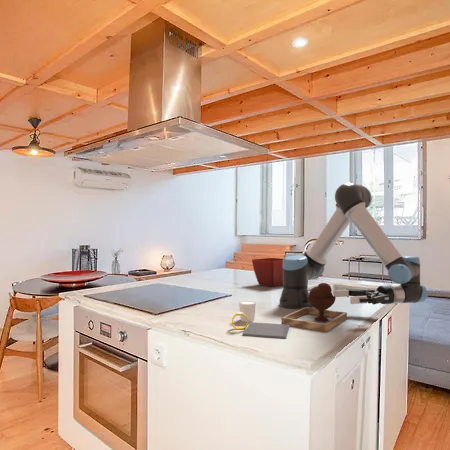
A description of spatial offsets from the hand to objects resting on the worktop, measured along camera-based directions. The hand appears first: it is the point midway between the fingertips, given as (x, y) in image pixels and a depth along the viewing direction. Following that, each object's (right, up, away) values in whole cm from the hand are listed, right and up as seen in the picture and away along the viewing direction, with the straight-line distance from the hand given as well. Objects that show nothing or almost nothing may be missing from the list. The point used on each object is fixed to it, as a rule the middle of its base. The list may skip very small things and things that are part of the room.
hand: (341, 296), depth 139 cm
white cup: (-38, -10, 0) cm, 39 cm away
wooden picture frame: (-12, -9, -3) cm, 15 cm away
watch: (-42, -9, -12) cm, 44 cm away
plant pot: (-16, -10, +86) cm, 88 cm away
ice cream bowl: (-9, -9, -1) cm, 13 cm away
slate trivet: (-32, -9, -15) cm, 36 cm away
